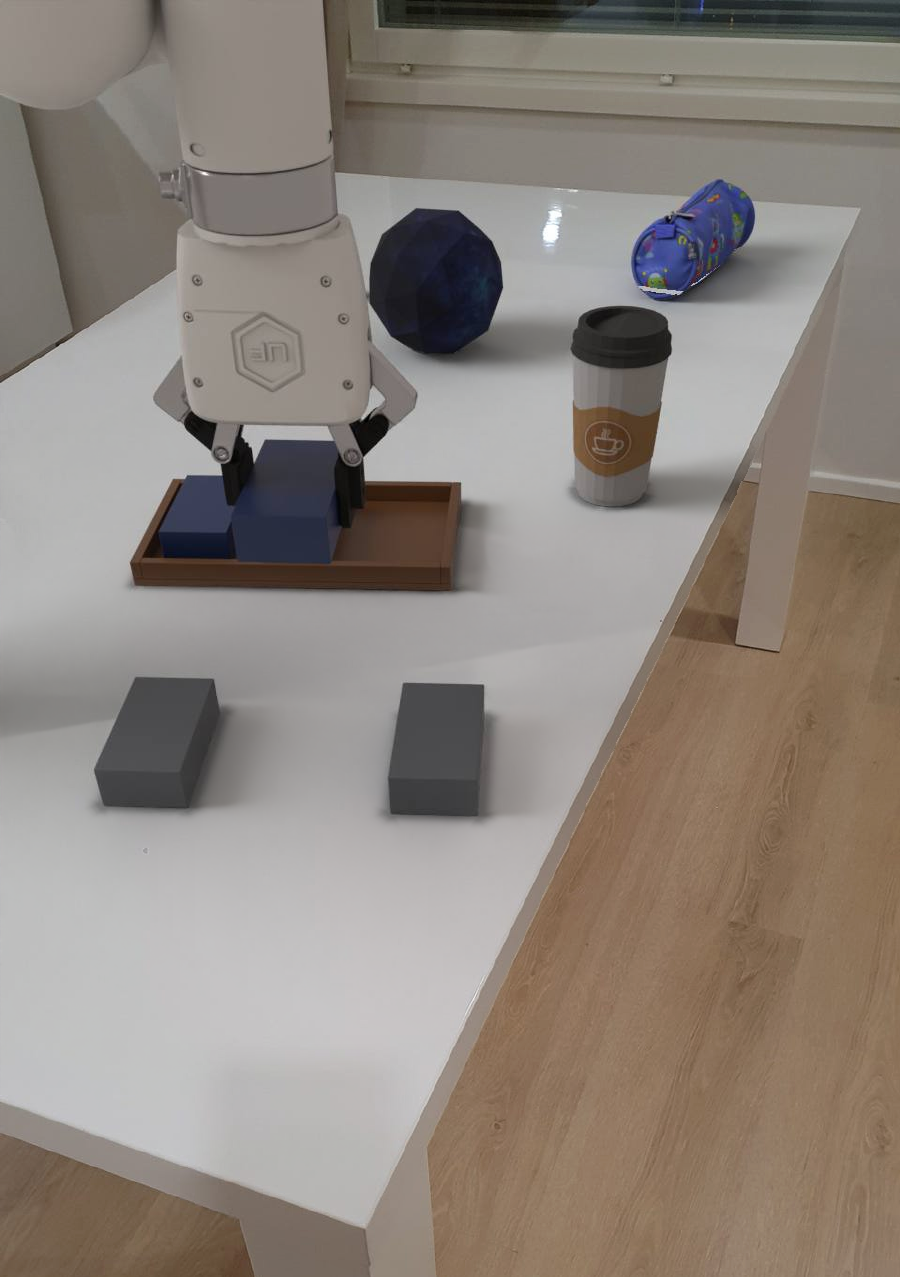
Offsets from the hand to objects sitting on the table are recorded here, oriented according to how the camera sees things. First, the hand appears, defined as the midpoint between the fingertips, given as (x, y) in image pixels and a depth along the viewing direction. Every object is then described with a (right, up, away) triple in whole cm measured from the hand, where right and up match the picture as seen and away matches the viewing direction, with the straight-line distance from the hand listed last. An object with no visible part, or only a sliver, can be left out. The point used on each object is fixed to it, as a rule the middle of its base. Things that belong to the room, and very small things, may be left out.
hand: (298, 513), depth 73 cm
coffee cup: (+24, +10, +34) cm, 43 cm away
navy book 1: (-11, +5, +29) cm, 31 cm away
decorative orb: (+8, +33, +61) cm, 70 cm away
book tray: (-3, +4, +28) cm, 29 cm away
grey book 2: (+9, -15, +6) cm, 18 cm away
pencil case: (+39, +48, +77) cm, 99 cm away
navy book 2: (0, 0, 0) cm, 0 cm away
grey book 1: (-10, -15, +7) cm, 19 cm away
